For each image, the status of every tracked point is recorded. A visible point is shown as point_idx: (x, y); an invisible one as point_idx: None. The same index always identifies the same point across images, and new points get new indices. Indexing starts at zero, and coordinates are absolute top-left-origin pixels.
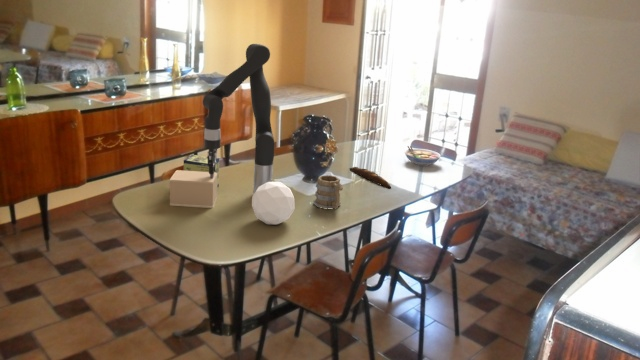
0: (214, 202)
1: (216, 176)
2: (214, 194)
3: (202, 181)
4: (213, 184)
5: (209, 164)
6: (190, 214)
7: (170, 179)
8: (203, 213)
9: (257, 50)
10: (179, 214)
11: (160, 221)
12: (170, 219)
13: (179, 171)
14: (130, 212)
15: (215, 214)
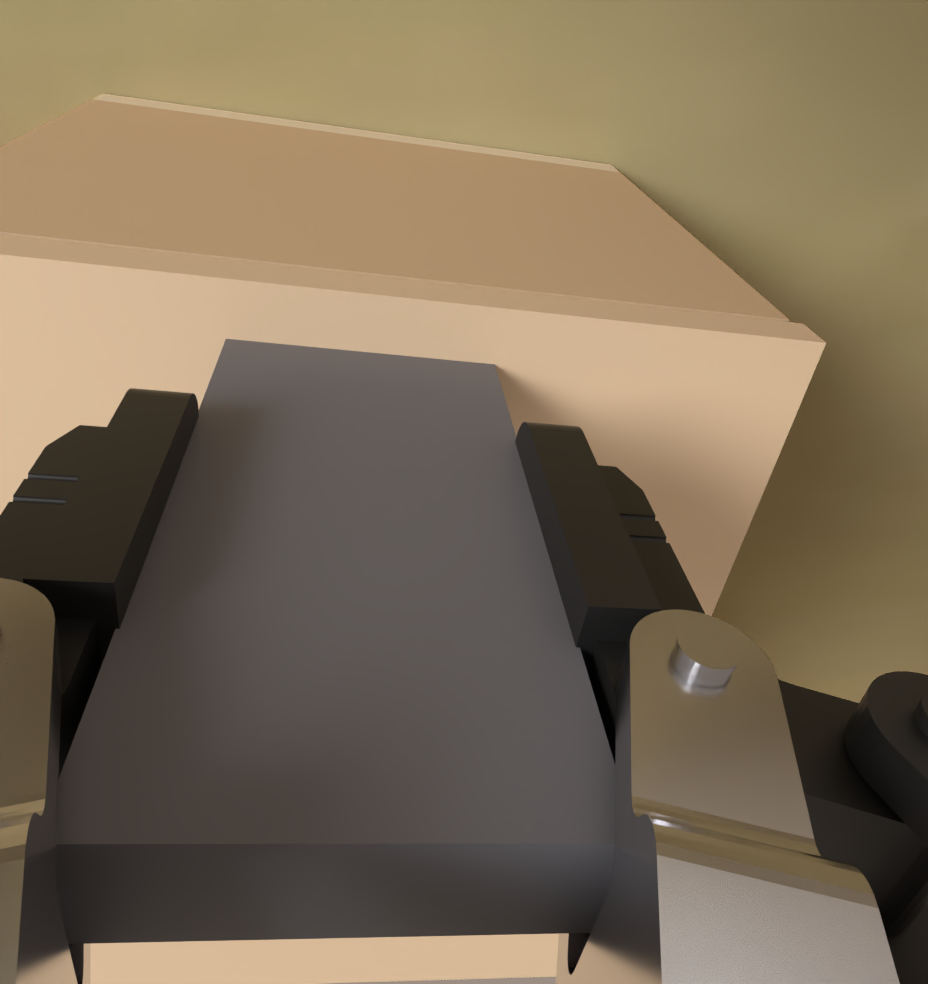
0: (426, 142)
1: (94, 244)
2: (446, 179)
3: (713, 578)
4: (678, 291)
5: (919, 904)
6: (794, 442)
7: (551, 970)
8: (799, 291)
9: None
10: (767, 547)
11: (898, 666)
12: (878, 603)
13: (101, 953)
14: None
15: (881, 108)
